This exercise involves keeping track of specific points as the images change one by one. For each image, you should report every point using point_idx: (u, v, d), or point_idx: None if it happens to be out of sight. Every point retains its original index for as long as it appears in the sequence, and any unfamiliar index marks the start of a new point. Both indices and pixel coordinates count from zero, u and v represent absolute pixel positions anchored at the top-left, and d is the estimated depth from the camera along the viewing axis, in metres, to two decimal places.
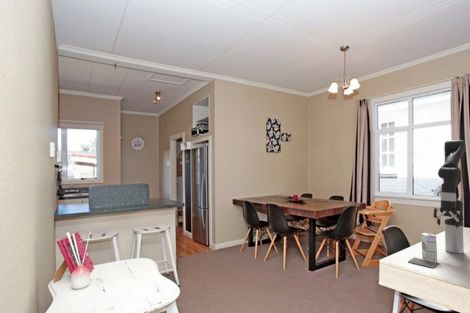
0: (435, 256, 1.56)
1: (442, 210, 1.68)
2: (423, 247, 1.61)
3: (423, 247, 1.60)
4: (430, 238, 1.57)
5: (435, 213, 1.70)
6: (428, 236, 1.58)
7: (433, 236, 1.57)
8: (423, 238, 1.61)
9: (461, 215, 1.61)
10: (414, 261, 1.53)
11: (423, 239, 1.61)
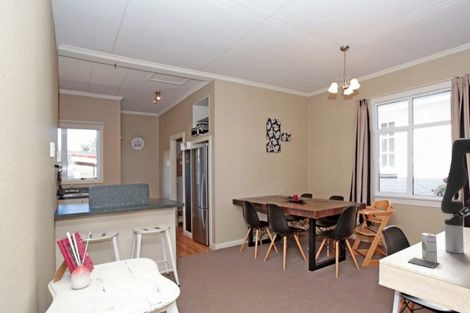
0: (435, 256, 1.56)
1: None
2: (423, 247, 1.61)
3: (423, 247, 1.60)
4: (430, 238, 1.57)
5: (465, 214, 1.43)
6: (428, 236, 1.58)
7: (433, 236, 1.57)
8: (423, 238, 1.61)
9: None
10: (414, 261, 1.53)
11: (423, 239, 1.61)
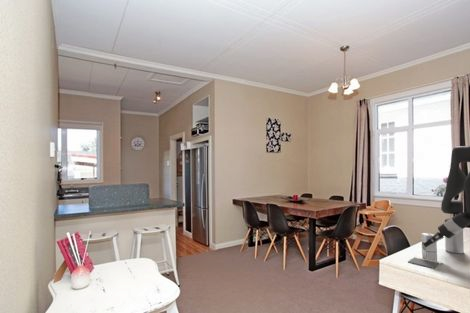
0: (435, 256, 1.56)
1: (440, 237, 1.54)
2: (423, 247, 1.61)
3: (423, 247, 1.60)
4: None
5: (435, 241, 1.52)
6: (428, 236, 1.58)
7: None
8: (423, 238, 1.61)
9: None
10: (414, 261, 1.53)
11: (423, 239, 1.61)
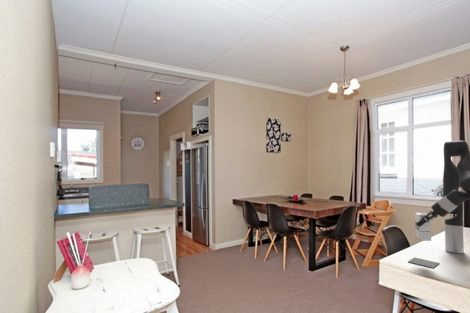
0: (429, 236, 1.49)
1: (434, 216, 1.47)
2: (417, 227, 1.54)
3: (417, 227, 1.53)
4: None
5: (428, 219, 1.46)
6: (422, 215, 1.51)
7: None
8: (416, 218, 1.54)
9: (436, 216, 1.53)
10: (414, 261, 1.53)
11: (417, 219, 1.54)
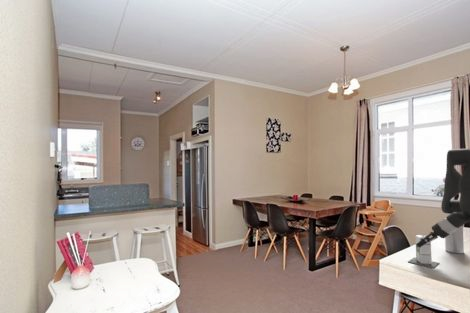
0: (429, 259, 1.49)
1: (434, 237, 1.46)
2: (417, 250, 1.53)
3: (417, 249, 1.53)
4: None
5: (429, 241, 1.45)
6: (422, 238, 1.50)
7: None
8: (417, 240, 1.53)
9: None
10: (414, 261, 1.53)
11: (417, 241, 1.53)
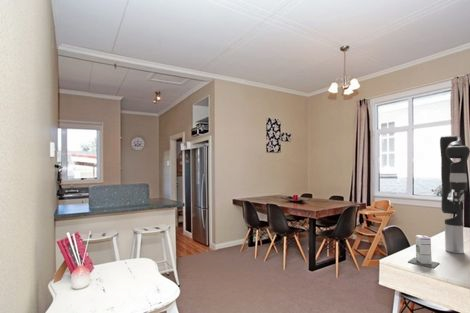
0: (429, 259, 1.49)
1: (460, 193, 1.49)
2: (417, 250, 1.53)
3: (417, 249, 1.53)
4: (424, 240, 1.50)
5: (459, 198, 1.47)
6: (422, 238, 1.50)
7: (427, 238, 1.50)
8: (417, 240, 1.53)
9: None
10: (414, 261, 1.53)
11: (417, 241, 1.53)
